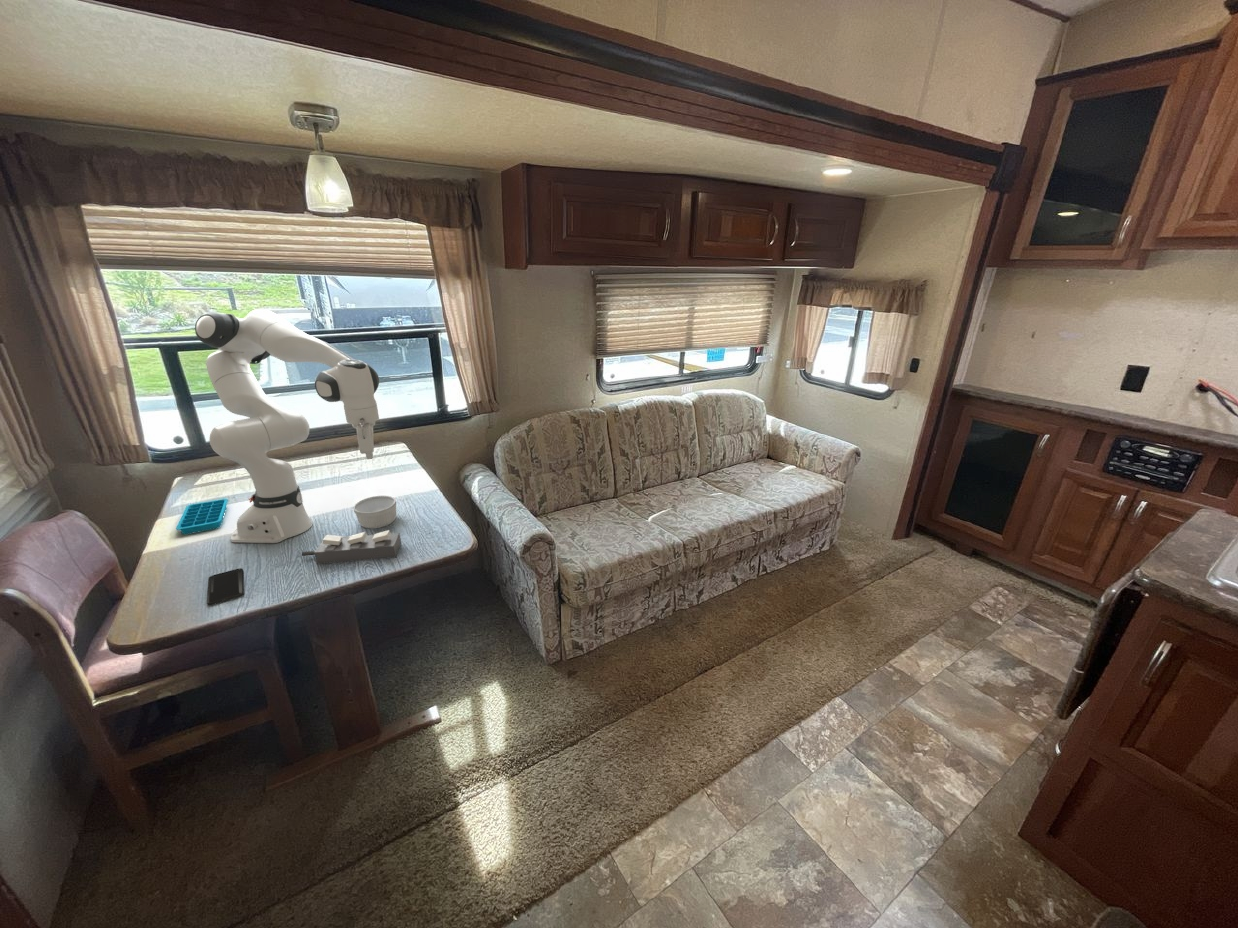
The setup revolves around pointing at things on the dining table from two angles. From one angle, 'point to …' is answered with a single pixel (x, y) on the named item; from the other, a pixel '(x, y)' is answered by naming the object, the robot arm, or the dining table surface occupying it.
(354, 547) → the power strip
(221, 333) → the robot arm
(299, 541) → the dining table surface
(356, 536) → the rocker
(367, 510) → the ramekin
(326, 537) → the rocker
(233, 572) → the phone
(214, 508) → the ice cube tray
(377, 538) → the block
